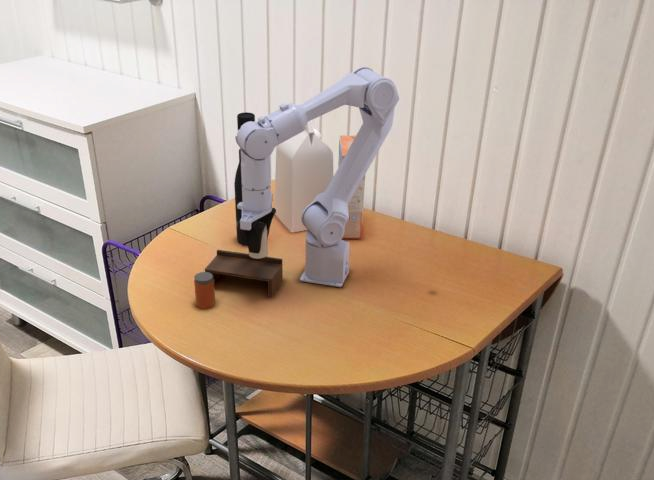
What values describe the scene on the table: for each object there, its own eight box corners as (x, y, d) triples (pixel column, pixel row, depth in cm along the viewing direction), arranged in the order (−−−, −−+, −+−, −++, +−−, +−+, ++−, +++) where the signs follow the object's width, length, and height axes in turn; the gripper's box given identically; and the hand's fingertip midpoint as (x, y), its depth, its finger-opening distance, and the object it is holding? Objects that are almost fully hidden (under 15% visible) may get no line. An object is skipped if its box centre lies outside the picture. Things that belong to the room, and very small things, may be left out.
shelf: (282, 281, 162) (282, 258, 159) (272, 298, 156) (271, 275, 153) (218, 271, 165) (217, 249, 162) (206, 287, 160) (204, 265, 156)
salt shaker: (270, 251, 156) (269, 222, 152) (264, 259, 153) (263, 231, 149) (252, 248, 157) (251, 220, 153) (245, 257, 154) (244, 228, 150)
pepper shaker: (218, 300, 155) (216, 273, 151) (211, 310, 152) (209, 282, 148) (200, 297, 156) (198, 270, 152) (193, 307, 153) (190, 279, 149)
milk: (273, 213, 190) (272, 111, 175) (314, 206, 194) (316, 106, 179) (291, 232, 181) (291, 127, 166) (334, 225, 185) (337, 120, 170)
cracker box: (362, 239, 178) (367, 155, 166) (337, 239, 178) (340, 155, 166) (359, 215, 189) (363, 134, 177) (335, 215, 190) (338, 134, 177)
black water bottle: (268, 238, 179) (266, 113, 161) (253, 248, 174) (249, 121, 157) (247, 231, 182) (242, 108, 164) (231, 241, 177) (225, 116, 160)
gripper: (249, 169, 152) (251, 230, 160) (224, 197, 141) (227, 260, 149) (281, 173, 151) (282, 234, 159) (258, 201, 140) (260, 265, 147)
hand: (258, 247), depth 154 cm, fingers closed on salt shaker, 4 cm apart
